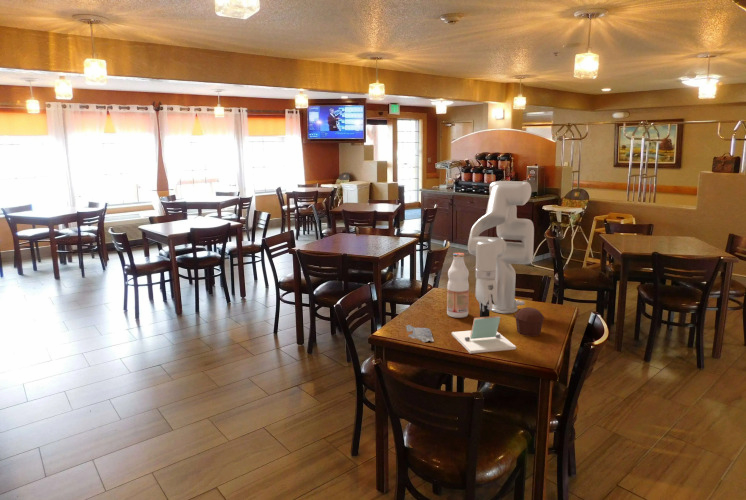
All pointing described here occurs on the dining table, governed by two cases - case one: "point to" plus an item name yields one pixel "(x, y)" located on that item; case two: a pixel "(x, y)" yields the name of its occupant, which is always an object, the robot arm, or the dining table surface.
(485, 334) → the tile
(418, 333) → the stone slab
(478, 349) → the board
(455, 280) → the fruit juice
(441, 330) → the dining table surface
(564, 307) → the dining table surface
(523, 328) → the muffin
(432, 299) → the dining table surface
